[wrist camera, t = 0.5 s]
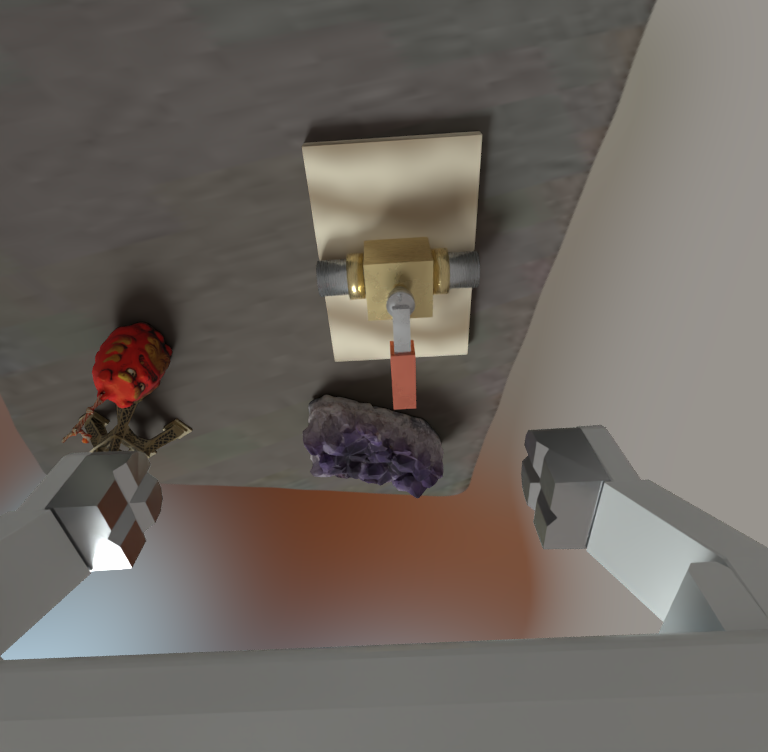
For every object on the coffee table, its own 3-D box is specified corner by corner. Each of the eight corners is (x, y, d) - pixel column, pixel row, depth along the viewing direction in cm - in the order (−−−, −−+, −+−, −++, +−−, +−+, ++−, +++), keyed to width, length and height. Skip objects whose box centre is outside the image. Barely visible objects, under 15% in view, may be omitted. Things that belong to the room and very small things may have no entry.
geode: (458, 408, 64) (468, 471, 57) (428, 453, 72) (434, 513, 65) (311, 381, 59) (304, 446, 52) (297, 433, 67) (289, 495, 60)
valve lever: (385, 282, 43) (385, 298, 41) (413, 280, 43) (415, 297, 41) (391, 390, 52) (392, 409, 49) (415, 388, 51) (417, 408, 49)
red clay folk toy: (186, 362, 58) (139, 453, 46) (137, 375, 59) (78, 466, 47) (151, 311, 53) (88, 398, 42) (98, 326, 54) (22, 414, 43)
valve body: (317, 241, 47) (311, 268, 42) (474, 231, 47) (486, 257, 42) (325, 293, 51) (320, 323, 46) (471, 285, 51) (481, 314, 46)
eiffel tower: (127, 382, 60) (9, 565, 40) (192, 429, 65) (116, 610, 46) (80, 417, 64) (-50, 601, 44) (145, 459, 69) (55, 638, 50)
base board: (304, 142, 42) (301, 146, 41) (479, 131, 42) (482, 134, 41) (336, 354, 57) (335, 361, 56) (465, 347, 57) (467, 354, 56)
